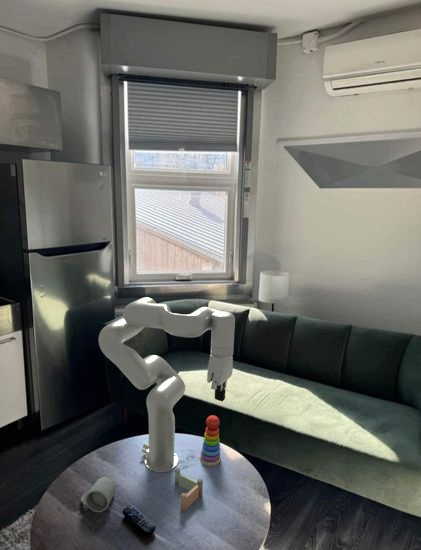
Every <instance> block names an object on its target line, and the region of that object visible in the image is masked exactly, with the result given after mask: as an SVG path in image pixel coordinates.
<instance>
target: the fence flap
mask: <svg viewBox="0 0 421 550" xmlns="http://www.w3.org/2000/svg"><path fill="white" fill-rule="evenodd" d="M203 486H204V479H203V478H197V485H196V486H195V487H194V488H193V489H191V490H190V491H188V492H187V493H185V492H182V493H181V494H180V512H181V513H185V512H186V511H187V509H188V508H189V507H190V506H191V505H192V504H194V502H195V501H196V500H198V499H199V497H200V498H201V497H202V496H203Z"/></svg>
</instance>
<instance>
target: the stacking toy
mask: <svg viewBox="0 0 421 550" xmlns="http://www.w3.org/2000/svg"><path fill="white" fill-rule="evenodd" d="M205 425H206V427H205V432H204V436H203V437H204V438H203V442H202V448H201V451H200V457H199V460H200V463H202V464H203V465H204V466H207V467H216V466H218V465H219V464H220V463H221V460H222V457H221V443H220V437H219V436H220V434H219V433H220V430H219V429H220V428H219V426H220V418H218V416H216V415H213V414H212V415H209V416H208V417H207V418H206V421H205Z"/></svg>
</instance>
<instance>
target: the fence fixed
mask: <svg viewBox="0 0 421 550" xmlns="http://www.w3.org/2000/svg"><path fill="white" fill-rule="evenodd" d="M197 481H198V479H197V480H196V479H195V478H192V477H191V476H188V475H185V474H183V473H181V468H180V467H179V468H177V467H175V468H174V486H176V487H177V486H179V487H180V488H183V489H184V490H187V491H188V492H189V491H190V490H191V489H193V488H194V487H195V486H196V485H197Z"/></svg>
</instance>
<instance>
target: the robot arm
mask: <svg viewBox="0 0 421 550" xmlns="http://www.w3.org/2000/svg"><path fill="white" fill-rule="evenodd" d="M235 324H236V317H235V315H234V314H233V313H232V312H230V311H224V310H222V311H220V310H217V309H215V308H212V307H209V306H202V307H199V308H198V309H196V310H194V311H193V312H191V313H189V314H181V313H174V312H172V311H171V307H170V306H169V305H168V304H166V303H157V302H156V301H155V300H154V299H153V298H150V297H141V298H138V299H137V300H134V301H132V302H130V303H128V304H127V305H126V306H125V308H124V309H123V311H122V317H120V318H118V319H116V320H114V321H111V322H109V323H108V324H107V325H105V326H104V327H102V329H101V331H100V332H99V335H98V346H99V348H100V350H101V352H102V353H103V355H104V356H105V357H106V358H107V359H109V361H111V362H112V363H113V364H114V365H115V366H116V367H117V368H118V369H119V370H120V371H121V373H123V375H124V376H125V377H126V378H127V379H128V381H130V383H131V384H132V385H133V386H134V387H135V388H137V389H138V390H141V391H142V390H143V391H144V390H146V389H148V388H149V387H151V386H152V385H153V384H155V383H156V385H155V386H154V387H153V388H152V389H151V390H150V391H149V393H148V395H147V396H146V409H147V413H148V414H147V415H148V443H147V442H144V444H143V445H142V449H141V452H142V453H143V454H145V455H146V456H145V457H144V465H145V467H146V468H147V470H149V471H150V472H152V473H157V474H158V473H159V474H161V473H162V474H163V473H167V472H170V471H172V470H175V469H176V468H177V465H178V463H179V457H178V455H177V453H176V452H175V439H176V438H175V433H176V431H175V430H176V425H175V424H176V421H175V420H176V418H175V414H174V412H173V408H174V406H175V405H176V403H177V402H179V400H180V399H181V398H182V397H183V396H184V394H185V392H186V383H185V382H184V380H183V378H182V377H181V376H180V375H179V373H177V372H176V370H174V368H172V367H171V365H170V364H169V363H168V362H167V360H165V359H164V358H162V357H161V356H160V355H156V354H151V355H147V356H146V357H144V358H142V357H141V356H140V354H139V353H138V352H137V351H136V350H135V349H133V348H132V347H130V346H127V345H125V344H124V342H126V341H129V340H130V339H132V338H133V337H135V336H137V334H139V333H140V332H141V331H142V330H143V329H144V328H151V329H152V328H153V329H161V330H163V331H164V332H166V333H168V334H170V335H172V336H175V337H181V338H196V337H197V338H198V337H201V336H202V335H204V333H205V332H207V331H209V330H210V332H211V334H210V335H211V336H210V337H211V338H210V355H209V359H208V365H207V377H206V381H207V383H211V386H210V389H211V390H214V400H215V401H216V400H217V401H219V402H223V401H225V399H226V389H227V383H228V380H229V379H230V378H231V377H232V375H233V370H234V369H233V368H234V364H233V363H234V360H233V359H234V357H233V355H234V348H235V347H234V346H235V345H234V344H235V341H234V340H235V327H236V325H235Z"/></svg>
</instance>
